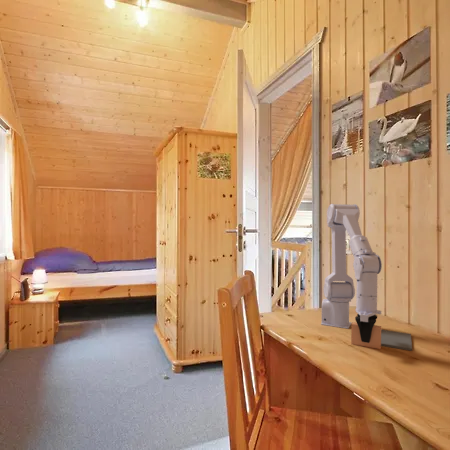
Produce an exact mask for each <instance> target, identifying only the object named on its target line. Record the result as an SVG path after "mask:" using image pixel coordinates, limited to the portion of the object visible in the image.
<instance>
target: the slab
mask: <svg viewBox="0 0 450 450" xmlns="http://www.w3.org/2000/svg"><path fill="white" fill-rule="evenodd" d="M381 330H382V326H381V325H378V324H377V325H376V324H374V326H373V329H372V333H371V339H370V342H369V343H367V342H362V340H361V336H360V330H359V327H358V324H357V322H356V321H355V322H351V331H350V333H351V335H350V336H351V339H350V340H351V341H350V343H351V345H355V346H360V347H366V348H373V349H379V350H381V349H382V346H381Z"/></svg>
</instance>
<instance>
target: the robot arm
mask: <svg viewBox="0 0 450 450" xmlns="http://www.w3.org/2000/svg"><path fill="white" fill-rule="evenodd" d="M360 213H361V212H360V208H359V206H358V204H357V203H354V204H343V203H342V204H341V203H339V204H338V203H337V204H336V203H331V204H329V205H328V207H327V211H326V224H327V227H328V228H330V229H331V231H330V232H331V261H332V262H331V268H332V269H331V271H332V272H331V273H330V274H328V275H327V276H326V277H325V278H324V285H323V295H324V297H325V298H323V299H322V302H321V323H320V325H322V326H328V327H336V328H341V329H349V328H350V327H351V326H352V322H351V321H350V302H352V300H353V299H354V298H356V301H355V302H356V303H355V304H356V306H355V307H356V308H355V312H356V313H357V314H356V316H355V318H354V319H355V323H357V324H358V327H359V330H360V336H361V340H362V342H367V343H369V342H370V339H371V333H372V329H373V326H374V325H376V323H377V319H378V315H381V314H382V310H378V274H380V273H381V271H382V265H383V263H382V260H381V256H380V255H379V254H377V253H376V252H374V251H373V249H372V247H371V244H370V243H369V242H370V241H369V240H368V238H367V236H366V235H362V231H361V227H360V224H359V218H360ZM346 233H347V234H348V236H349V238H350V239H349V241H348V244H349V248H350V251H351V253H352V257H353V263H352V267H353V270H354V277H355V279H356V289H355V284H354V279H353V278H352V277H351V276H350V275H348V274H347V241H346V240H347V239H346V238H347V236H346ZM355 295H356V297H355Z"/></svg>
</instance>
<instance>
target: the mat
mask: <svg viewBox="0 0 450 450" xmlns="http://www.w3.org/2000/svg"><path fill="white" fill-rule="evenodd" d="M412 344H413V343H412V334H411V333H408V332H401V331H394V330H387V329H381V347H387V348H393V349H399V350H406V351H410V352H411V351H413V345H412Z"/></svg>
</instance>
